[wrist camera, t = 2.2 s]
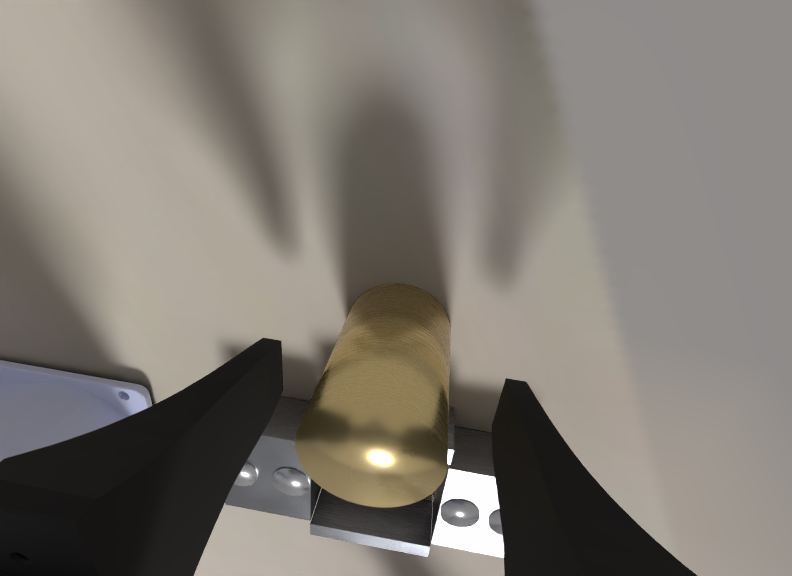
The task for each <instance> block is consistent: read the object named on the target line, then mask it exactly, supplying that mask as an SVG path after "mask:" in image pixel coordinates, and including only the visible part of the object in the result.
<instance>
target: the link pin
mask: <svg viewBox="0 0 792 576" xmlns="http://www.w3.org/2000/svg"><path fill="white" fill-rule="evenodd" d="M450 335H451V331H450V322H449V319H448V316H447V314H446V312H445V310H444V308H443V307H442V306H441V304H440V303H439V302H438V301H437V300H436V299H435V298H434V297H432V296H431V295H430V294H428V293H427V292H425V291H423V290H421V289H419V288H416V287H413V286H410V285H405V284H386V285H381V286H377V287H375V288H372V289H370V290H368V291H367V292H365V293H364V294H362V295H361V296H360V297H359V298H358V299H357V300H356V301H355V303H354V304H353V306H352V308H351V310H350V312H349V314H348V317H347V319H346V321H345V323H344V326H343V328H342V330H341V333H340V335H339V337H338V339H337V342H336V344H335V346H334V348H333V351H332V353H331V355H330V358H329V360H328V362H327V364H326V367H325V369H324V371H323V373H322V376H321V378H320V380H319V383H318V385H317V387H316V389H315V392H314V394H313V396H312V398H311V401H310V403H309V405H308V408H307V410H306V412H305V414H304V417H303V419H302V421H301V423H300V426H299V428H298V430H297V434H296V438H295V448H296V454H297V457H298V460H299V462H300V464H301V466H302V467H303V469H304V470H305V472H306V473H307V474H308V475H309V477H310V478H311V479H312V480H313V481H314V482H316V483H317V484H318V485H319V486H321V487H322V488H323V489H325V490H326V491H328V492H329V493H331V494H333V495H335V496H337V497H339V498H341V499H344V500H346V501H349V502H352V503H356V504H360V505H364V506H371V507H382V508H386V507H399V506H405V505H409V504H412V503H415V502H418V501H420V500H422V499H424V498H426V497H427V496H429V495H431V494H432V493H433V492H434V491H435V490H436V489H437V488H438V487H439V486H440V485H441V483H442V481H443V480H444V478H445V475H446V472H447V466H448V426H449V381H450Z"/></svg>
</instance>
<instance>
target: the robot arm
mask: <svg viewBox="0 0 792 576" xmlns="http://www.w3.org/2000/svg"><path fill="white" fill-rule="evenodd" d="M282 391H283V373H282V347H281V341H279V340H273V339H267V338H262V339H261V340H259V341H258V342H256V343H255V344H253V345H252V346H250V347H249V348H247V349H246V350H244V351H243V352H241V353H240V354H239V355H237V356H236V357H234V358H233V359H231V360H230V361H228V362H227V363H225V364H224V365H222V366H221V367H219V368H218V369H216V370H215V371H213V372H212V373H210V374H208V375H207V376H205V377H203V378H202V379H200V380H198V381H197V382H195V383H193V384H192V385H190V386H188V387H187V388H185V389H183V390H182V391H180V392H178V393H176V394H174V395H172V396H171V397H169V398H167V399H165V400H163V401H161V402H159V403H157V404H155V405H153V406H152V402H151V398H150V394H149V392H148V390H147V389H146V388H145V387H144V386H142V385H139V384H134V383H128V382H122V381H117V380H111V379H105V378H100V377H94V376H88V375H83V374H77V373H71V372H65V371H60V370H54V369H48V368H43V367H37V366H31V365H25V364H20V363H14V362H8V361H3V360H0V576H194V573H195V571H196V568H197V566H198V563H199V561H200V558H201V556H202V553H203V551H204V549H205V546H206V544H207V542H208V539H209V537H210V535H211V532H212V530H213V528H214V525H215V523H216V521H217V519H218V516H219V514H220V512H221V510H222V508H223V505H224V503H225V501H226V499H227V496H228V494H229V492H230V490H231V488H232V486H233V484H234V482H235V481H236V479H237V477H238V475H239V473H240V472H241V470H242V468H243V466H244V465H245V463H246V461H247V459H248V458H249V456H250V454H251V453H252V451H253V449H254V447H255V446H256V444H257V442H258V440H259V439H260V437H261V435H262V433H263V432H264V430H265V428H266V426H267V425H268V423H269V421H270V419H271V417H272V415H273V413H274V410H275V408H276V406H277V403H278V401H279V398H280V396H281V393H282ZM492 458H493V466H494V474H495V481H496V489H497V496H498V503H499V511H500V518H501V525H502V534H503V544H504V567H505V576H697V575H696V574H695V573H693V572H692V571H691V570H689V569H688V568H687V567H686V566H684V565H683V564H682V563H681V562H680V561H678V560H677V559H676V558H675V557H674V556H673V555H671V554H670V553H669V552H668V551H667V550H666V549H665V548H663V547H662V546H661V545H660V544H659V543H658V542H657V541H655V540H654V539H653V538H652V537H651V536H650V535H649V534H648V533H647V532H646V531H645V530H643V529H642V528H641V527H640V526H639V525H638V524H637V523H636V522H635V521H634V520H633V519H632V518H631V517H630V516H629V515H628V514H627V513H626V512H625V511H624V510H623V509H622V508H621V507H620V506H619V505H618V504H617V503H616V502H615V501H614V500H613V499H612V498H611V497H610V496H609V495H608V493H607V492H606V491H605V490H604V489H603V488H602V487H601V486H600V484H599V483H598V482H597V481H596V480H595V479H594V478H593V477H592V475H591V474H590V473H589V472H588V471H587V470H586V468H585V467H584V466H583V465H582V463H581V462H580V461H579V459H578V458H577V457H576V456H575V454H574V453H573V452H572V450H571V449H570V448H569V446H568V445H567V443H566V442H565V441H564V439H563V438H562V436H561V435H560V434H559V432H558V431H557V429H556V428H555V426H554V425H553V423H552V422H551V420H550V419H549V417H548V416H547V414H546V413H545V411H544V409H543V408H542V406H541V405H540V403H539V402H538V400H537V398H536V397H535V395H534V393H533V392H532V390H531V389H530V387H529V385H528V384H527V383H526V382H524V381H518V380H512V379H506V380H505V384H504V387H503V390H502V394H501V397H500V400H499V404H498V407H497V411H496V414H495V417H494V421H493V424H492Z"/></svg>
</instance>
